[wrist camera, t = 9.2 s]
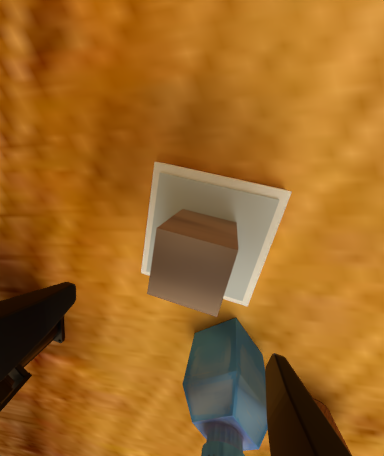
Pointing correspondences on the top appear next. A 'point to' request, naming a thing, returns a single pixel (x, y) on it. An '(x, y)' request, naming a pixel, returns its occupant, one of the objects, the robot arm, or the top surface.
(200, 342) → the perfume bottle
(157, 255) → the block
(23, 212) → the top surface
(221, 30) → the top surface
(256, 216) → the base
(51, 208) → the top surface
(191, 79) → the top surface
